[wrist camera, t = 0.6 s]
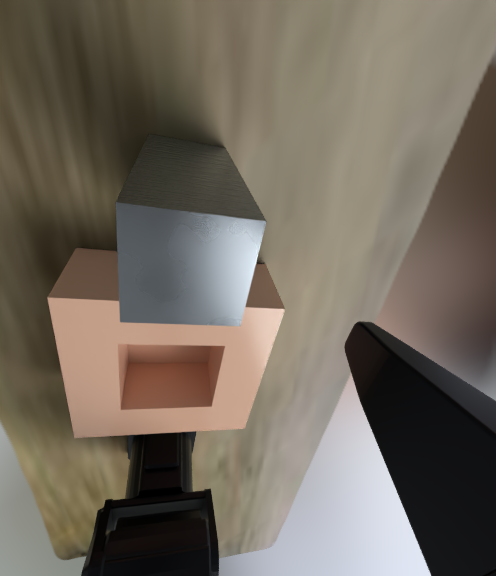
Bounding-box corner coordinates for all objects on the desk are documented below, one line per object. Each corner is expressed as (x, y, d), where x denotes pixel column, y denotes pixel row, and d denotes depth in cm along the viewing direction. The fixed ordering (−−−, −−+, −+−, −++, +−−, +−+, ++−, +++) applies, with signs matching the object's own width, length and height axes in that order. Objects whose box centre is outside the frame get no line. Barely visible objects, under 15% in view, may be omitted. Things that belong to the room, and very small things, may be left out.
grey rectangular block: (215, 216, 19) (240, 326, 11) (147, 208, 18) (119, 322, 10) (225, 147, 17) (266, 221, 9) (148, 133, 16) (115, 202, 8)
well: (235, 377, 28) (244, 428, 24) (91, 378, 25) (74, 438, 21) (265, 264, 22) (285, 309, 18) (76, 247, 18) (47, 297, 14)
